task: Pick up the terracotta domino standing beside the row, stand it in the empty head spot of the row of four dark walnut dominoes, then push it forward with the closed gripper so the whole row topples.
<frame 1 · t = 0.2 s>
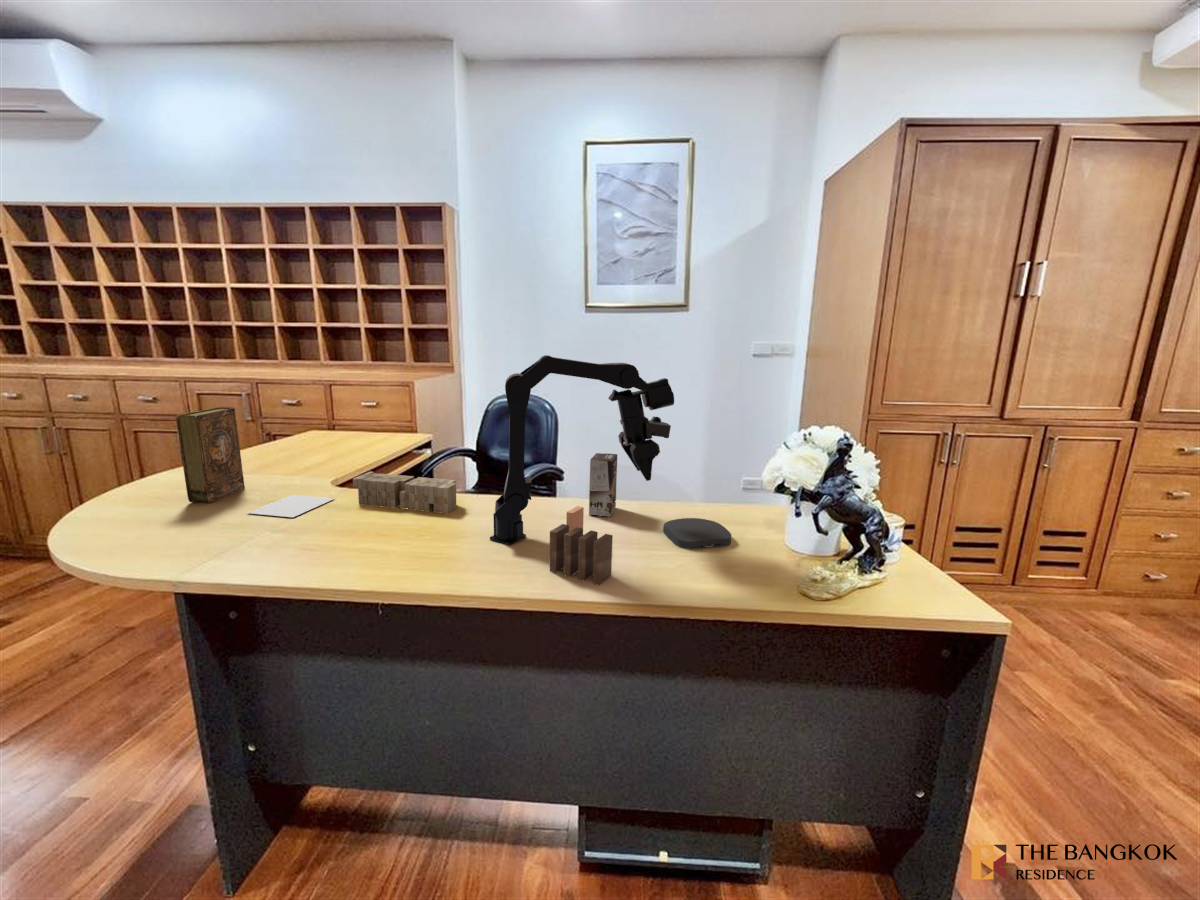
hand: (644, 475, 130), 15 cm above the table, tool pointing down, fingers open, 9 cm apart
walnut domino 1: (559, 567, 112), on the table
walnut domino 3: (587, 575, 109), on the table
walnut domino 2: (573, 571, 111), on the table
book: (219, 495, 154), on the table
terracotta domino: (574, 545, 124), on the table
media streaming box: (696, 539, 132), on the table
coffee box: (602, 512, 149), on the table
paper stack: (297, 514, 141), on the table
walnut domino 4: (602, 579, 107), on the table
block tower: (408, 506, 150), on the table
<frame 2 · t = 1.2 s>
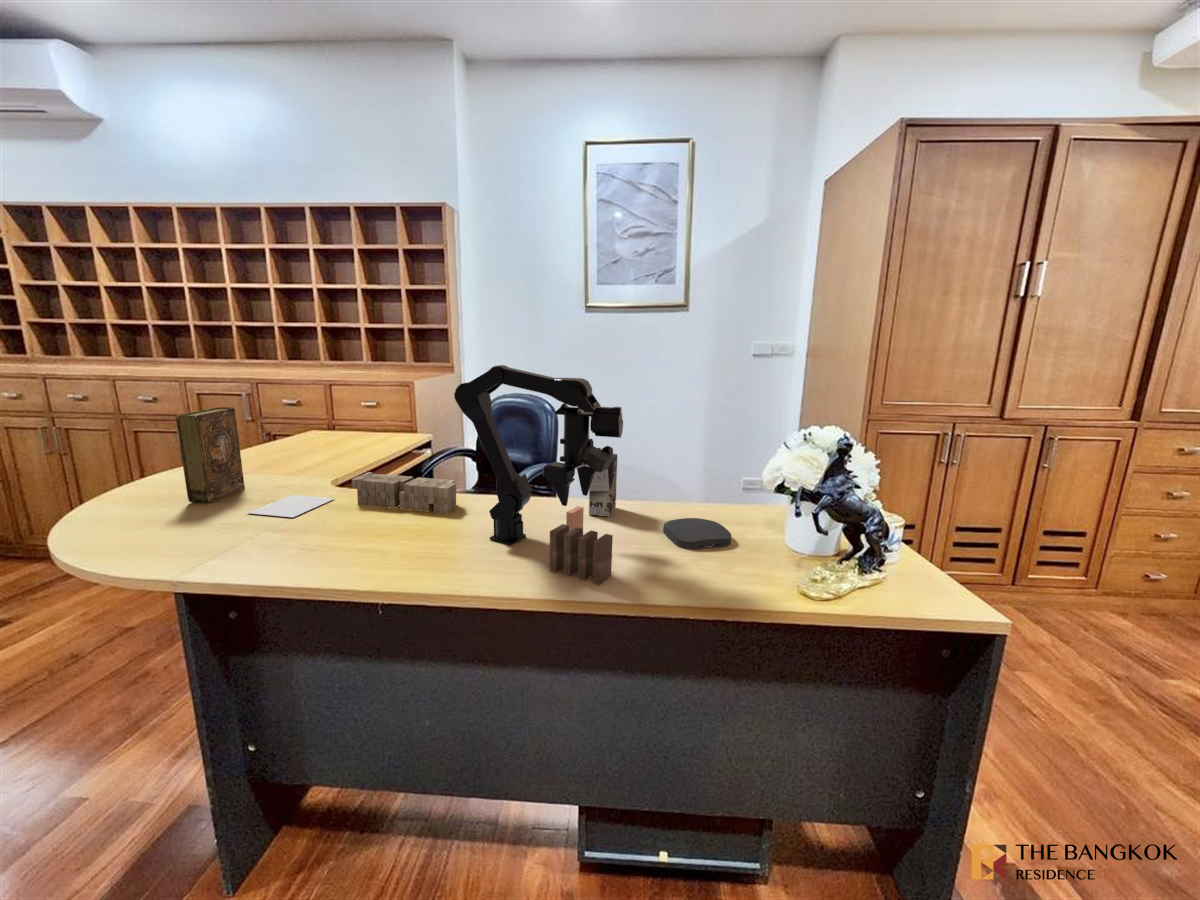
hand: (575, 500, 122), 11 cm above the table, tool pointing down, fingers open, 9 cm apart
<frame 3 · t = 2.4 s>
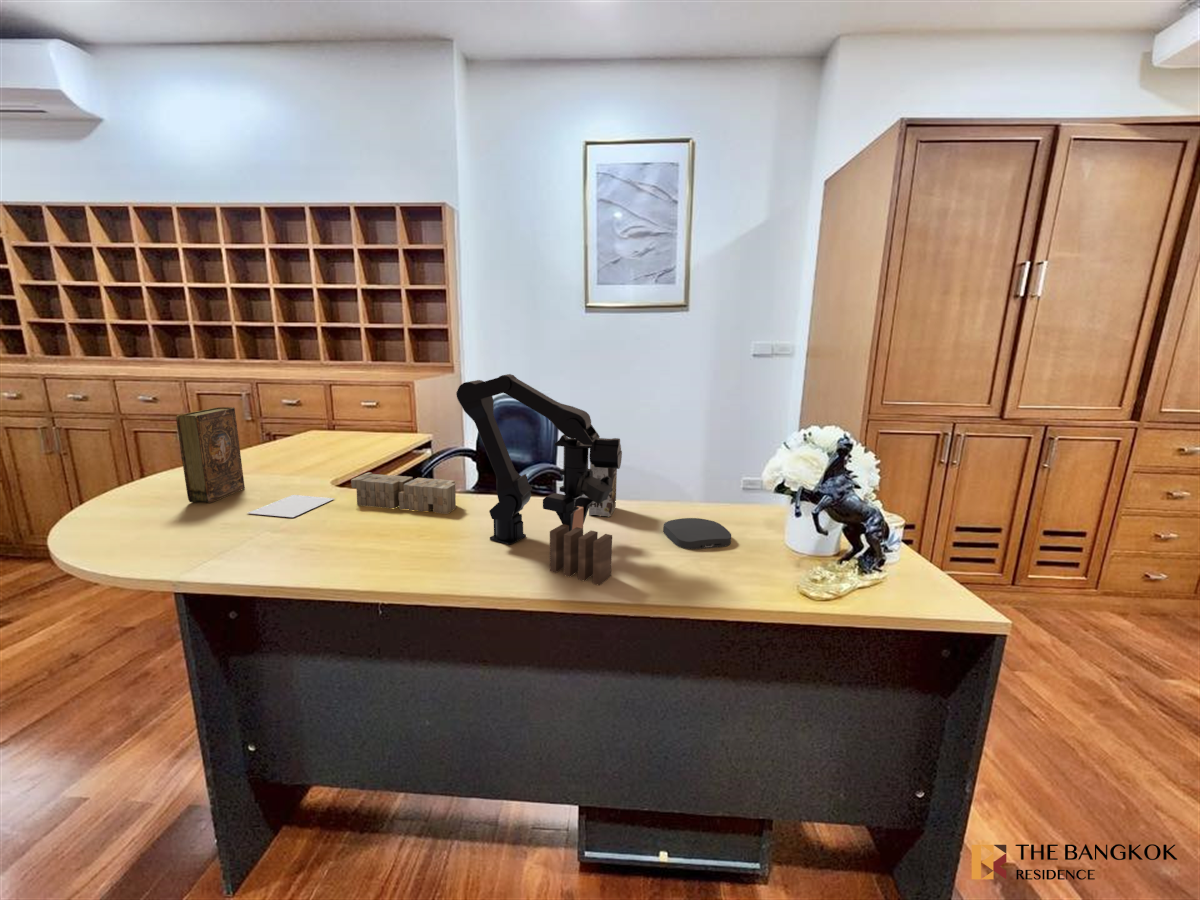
hand: (574, 529, 123), 4 cm above the table, tool pointing down, fingers closed on terracotta domino, 5 cm apart
terracotta domino: (574, 545, 124), on the table, touching gripper
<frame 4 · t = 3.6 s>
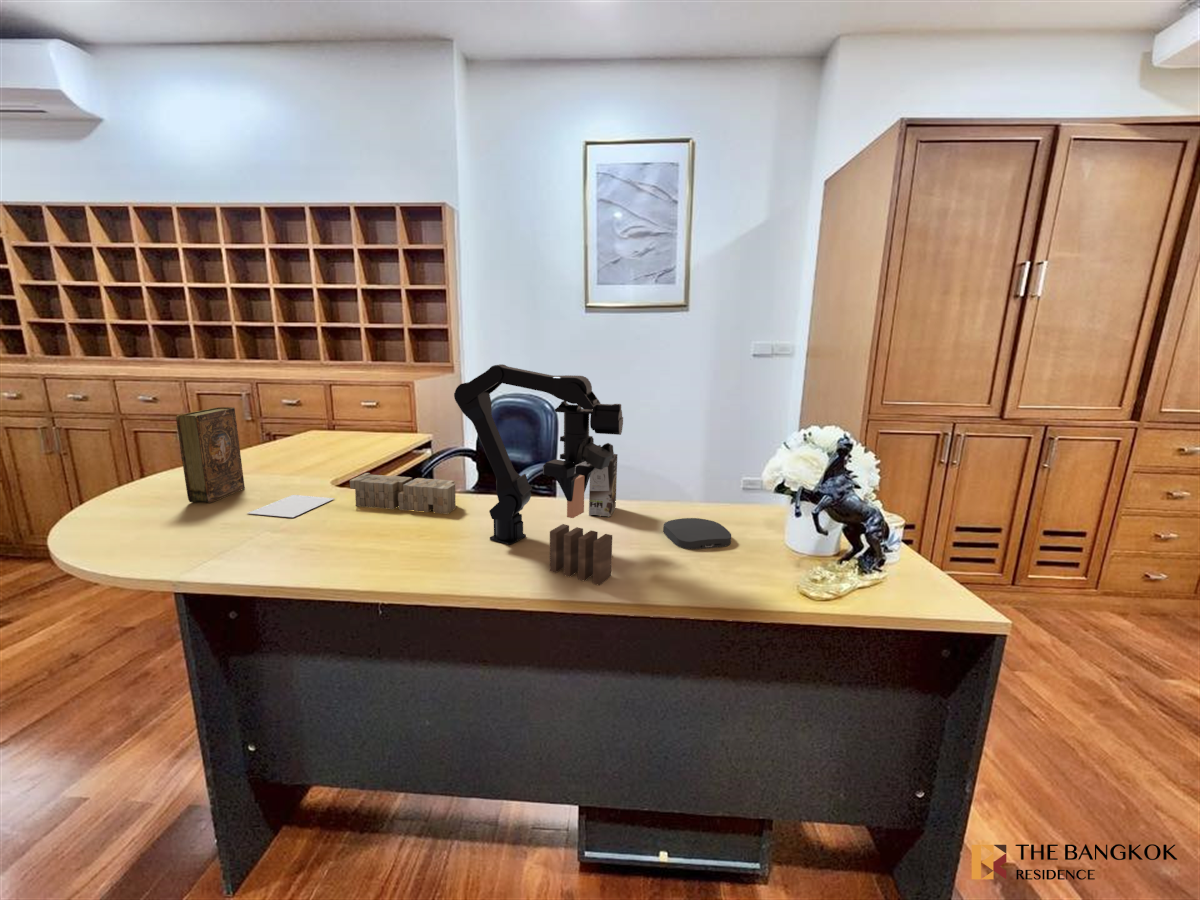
hand: (575, 498, 122), 12 cm above the table, tool pointing down, fingers closed on terracotta domino, 5 cm apart
terracotta domino: (575, 514, 123), point 8 cm above the table, touching gripper
when the fingers open (5 cm above the table, at t = 6.5 s): terracotta domino moves 3 cm and tips over, resting on walnut domino 1.
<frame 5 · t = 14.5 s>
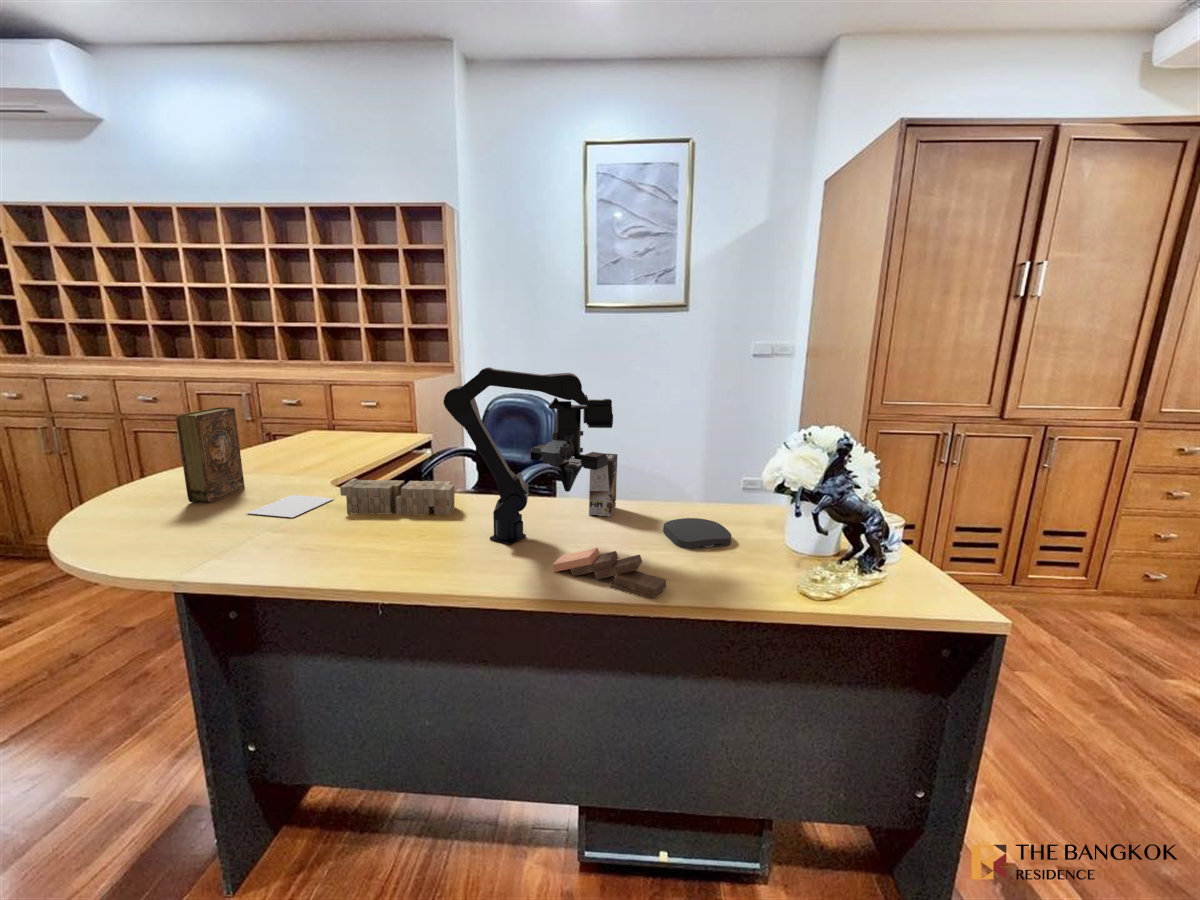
hand: (567, 491, 126), 12 cm above the table, tool pointing down, fingers closed
walnut domino 1: (575, 567, 111), point 1 cm above the table, tilted 68°, touching terracotta domino, walnut domino 2
walnut domino 3: (621, 575, 106), point 1 cm above the table, tilted 90°, touching walnut domino 2, walnut domino 4
walnut domino 2: (598, 571, 109), point 1 cm above the table, tilted 69°, touching walnut domino 1, walnut domino 3
terracotta domino: (557, 563, 112), point 1 cm above the table, tilted 68°, touching walnut domino 1
walnut domino 4: (614, 583, 106), on the table, tilted 90°, touching walnut domino 3
block tower: (401, 511, 146), on the table
everything else where it was.
at the end: terracotta domino tilted 68°; walnut domino 4 tilted 90°; terracotta domino inside the target area (2.1 cm from its centre), point 0.8 cm above the table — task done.
